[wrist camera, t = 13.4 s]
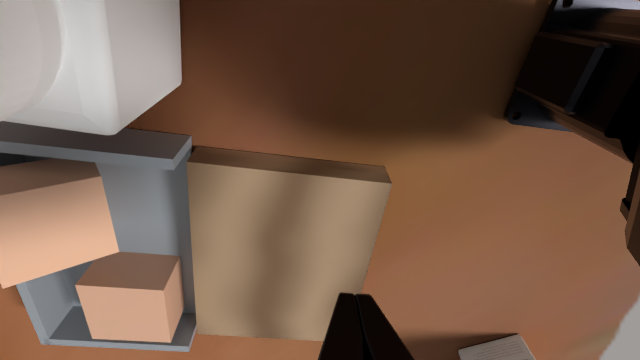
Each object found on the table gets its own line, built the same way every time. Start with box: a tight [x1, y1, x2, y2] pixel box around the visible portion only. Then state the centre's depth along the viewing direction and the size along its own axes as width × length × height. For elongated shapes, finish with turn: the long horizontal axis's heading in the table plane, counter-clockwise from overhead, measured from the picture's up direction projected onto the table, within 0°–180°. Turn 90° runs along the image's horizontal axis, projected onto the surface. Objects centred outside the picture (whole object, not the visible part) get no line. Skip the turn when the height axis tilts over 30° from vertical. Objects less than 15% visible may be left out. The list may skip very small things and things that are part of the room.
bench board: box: [186, 146, 392, 341], centre depth 22 cm, size 11×14×2 cm
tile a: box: [0, 158, 119, 289], centre depth 17 cm, size 5×5×3 cm
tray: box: [0, 121, 197, 352], centre depth 21 cm, size 10×15×3 cm, turn 172°
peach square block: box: [75, 251, 185, 343], centre depth 22 cm, size 5×5×3 cm
